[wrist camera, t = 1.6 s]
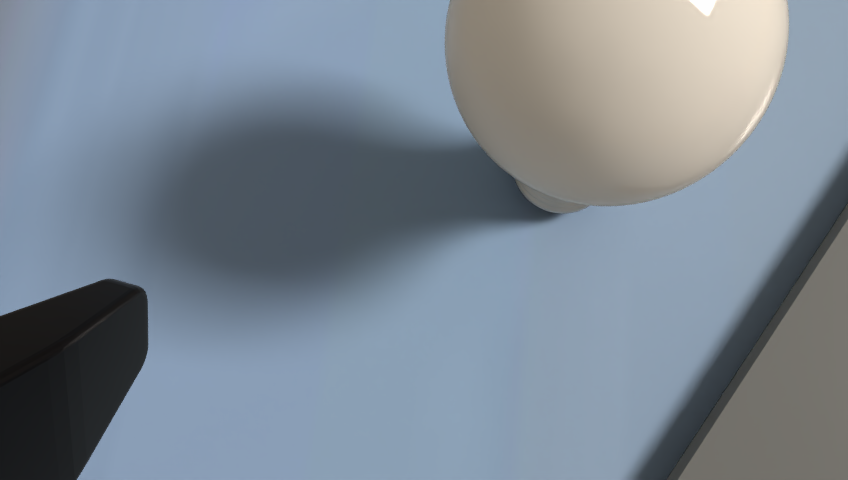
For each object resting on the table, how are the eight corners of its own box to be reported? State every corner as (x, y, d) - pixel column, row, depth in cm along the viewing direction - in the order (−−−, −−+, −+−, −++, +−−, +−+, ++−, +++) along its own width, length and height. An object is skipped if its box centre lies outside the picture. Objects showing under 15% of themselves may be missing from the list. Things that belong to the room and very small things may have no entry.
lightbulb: (417, 115, 24) (387, -157, 13) (617, 46, 24) (746, -273, 13) (493, 315, 22) (530, 191, 12) (706, 239, 22) (933, 50, 12)
